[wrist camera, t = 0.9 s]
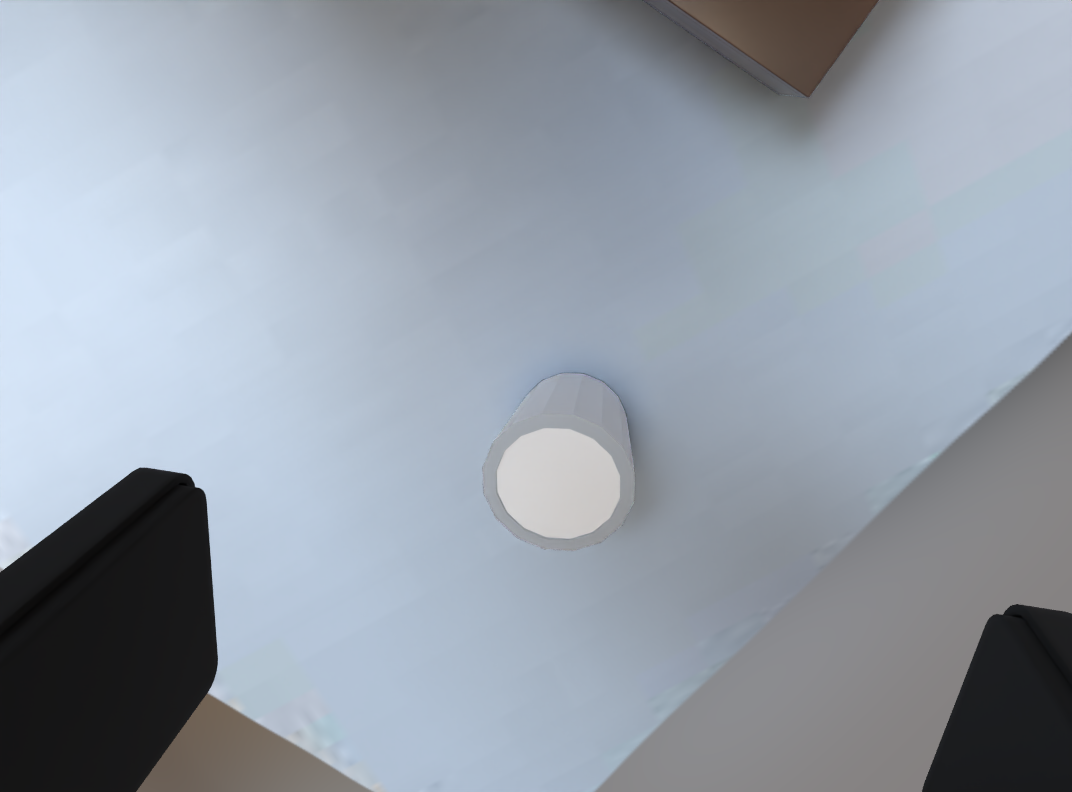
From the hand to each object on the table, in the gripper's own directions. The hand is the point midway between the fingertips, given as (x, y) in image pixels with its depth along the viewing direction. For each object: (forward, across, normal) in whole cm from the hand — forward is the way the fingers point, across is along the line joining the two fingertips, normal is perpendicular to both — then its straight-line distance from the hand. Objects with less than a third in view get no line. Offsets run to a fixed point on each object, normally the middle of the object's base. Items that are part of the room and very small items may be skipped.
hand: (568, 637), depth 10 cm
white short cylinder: (+30, +2, +11) cm, 32 cm away
